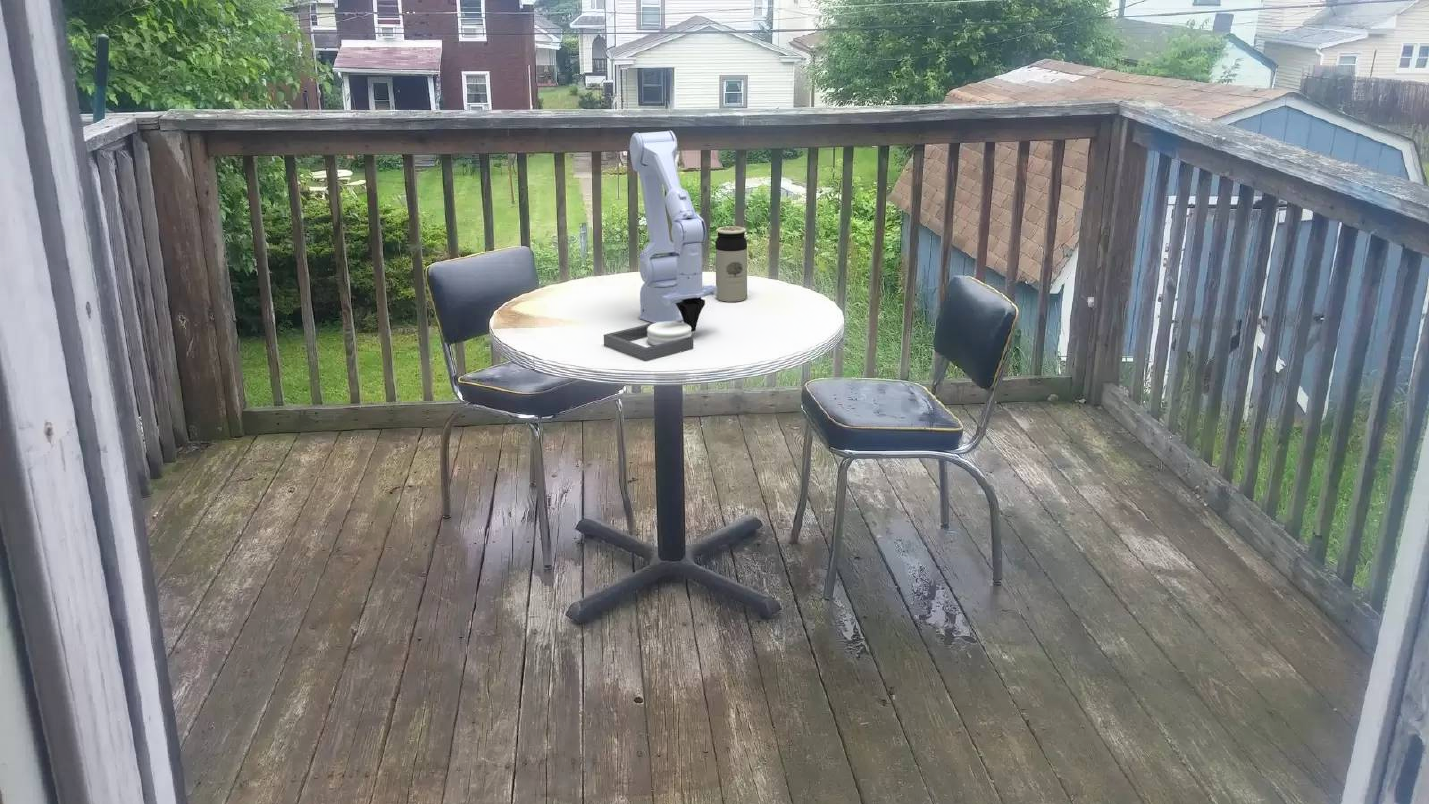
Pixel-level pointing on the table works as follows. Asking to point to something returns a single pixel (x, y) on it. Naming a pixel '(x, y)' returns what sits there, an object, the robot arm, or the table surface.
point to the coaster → (667, 332)
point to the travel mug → (731, 264)
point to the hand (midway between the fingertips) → (690, 330)
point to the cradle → (623, 344)
